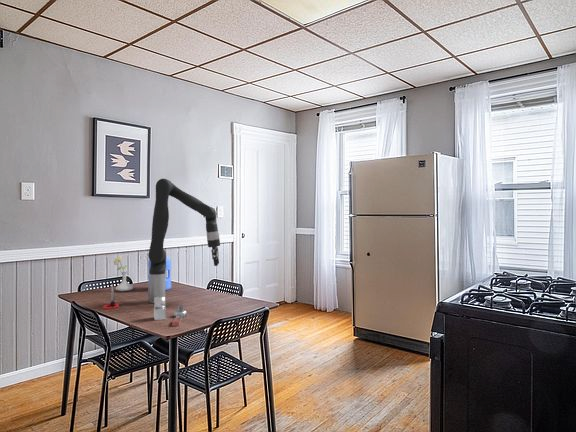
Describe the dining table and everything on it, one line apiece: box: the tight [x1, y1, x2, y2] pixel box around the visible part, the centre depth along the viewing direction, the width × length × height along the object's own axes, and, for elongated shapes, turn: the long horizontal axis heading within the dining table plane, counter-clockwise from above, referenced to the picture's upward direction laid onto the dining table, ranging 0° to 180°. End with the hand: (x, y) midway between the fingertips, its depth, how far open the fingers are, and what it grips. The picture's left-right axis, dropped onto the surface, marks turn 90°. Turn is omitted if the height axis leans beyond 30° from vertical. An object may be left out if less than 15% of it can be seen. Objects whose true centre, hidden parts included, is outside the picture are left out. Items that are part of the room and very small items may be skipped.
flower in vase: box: [113, 254, 134, 292], centre depth 288 cm, size 13×11×25 cm
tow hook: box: [102, 283, 120, 310], centre depth 240 cm, size 8×13×9 cm
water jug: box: [147, 256, 172, 291], centre depth 294 cm, size 16×16×28 cm
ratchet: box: [171, 303, 188, 327], centre depth 214 cm, size 22×6×7 cm, turn 7°
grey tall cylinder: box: [153, 295, 167, 321], centre depth 217 cm, size 6×6×11 cm
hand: (216, 264), depth 258 cm, fingers open, 8 cm apart
